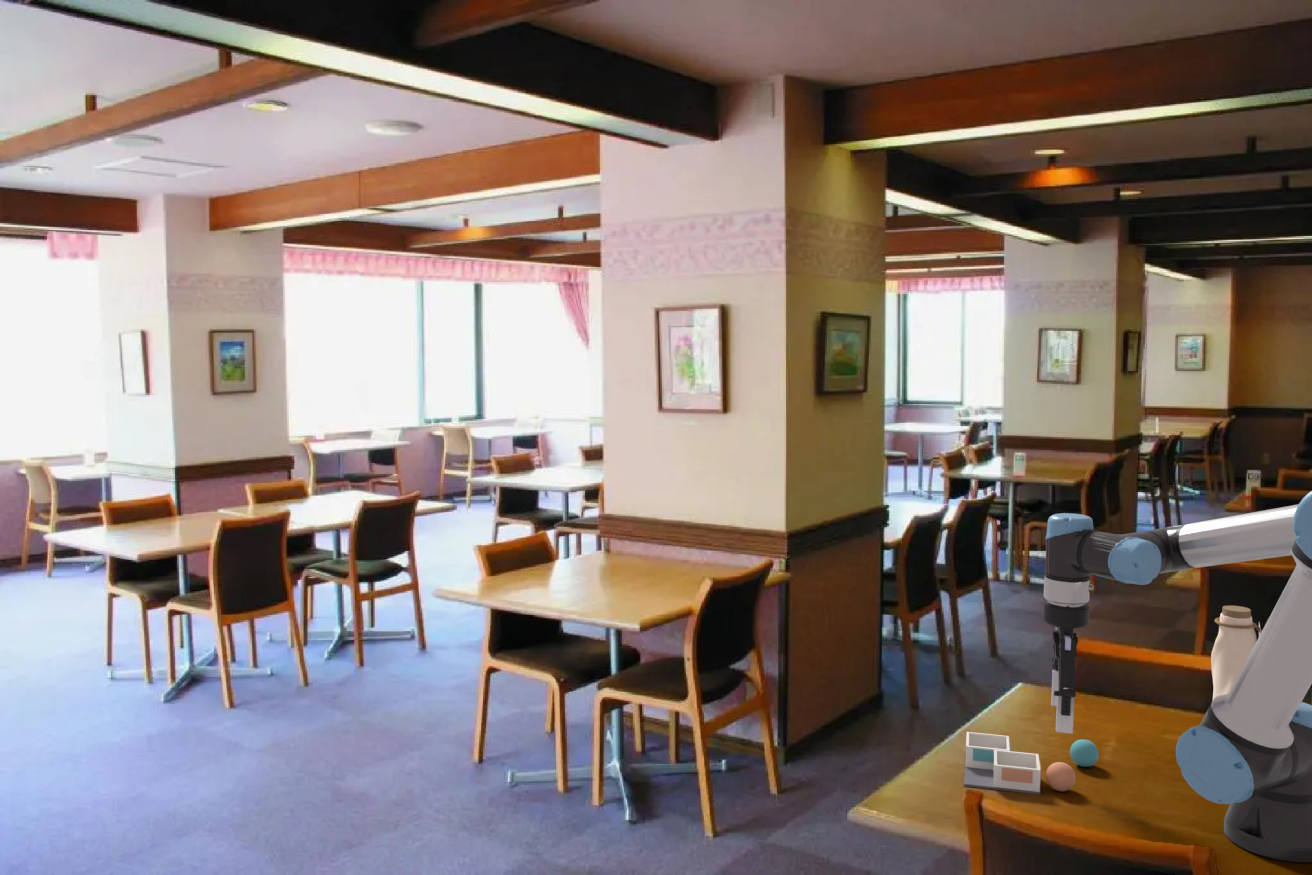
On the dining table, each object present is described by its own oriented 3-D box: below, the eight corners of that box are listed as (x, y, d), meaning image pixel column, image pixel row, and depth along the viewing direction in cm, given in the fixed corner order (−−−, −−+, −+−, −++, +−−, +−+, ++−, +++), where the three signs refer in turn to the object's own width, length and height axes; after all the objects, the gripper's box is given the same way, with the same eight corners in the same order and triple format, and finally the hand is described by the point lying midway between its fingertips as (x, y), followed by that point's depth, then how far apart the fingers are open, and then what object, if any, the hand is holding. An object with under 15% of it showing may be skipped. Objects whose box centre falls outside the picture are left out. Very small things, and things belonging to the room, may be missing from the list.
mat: (1040, 794, 192) (1040, 792, 192) (964, 785, 196) (964, 783, 196) (1036, 760, 207) (1036, 758, 207) (965, 753, 211) (965, 751, 211)
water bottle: (1250, 740, 218) (1257, 603, 215) (1271, 757, 209) (1278, 614, 206) (1197, 738, 219) (1203, 602, 216) (1215, 755, 210) (1222, 613, 207)
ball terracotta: (1076, 797, 191) (1077, 769, 190) (1046, 793, 192) (1047, 766, 192) (1074, 786, 196) (1075, 759, 195) (1044, 782, 197) (1045, 756, 197)
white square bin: (1010, 774, 201) (1010, 751, 201) (965, 769, 203) (965, 746, 203) (1009, 758, 209) (1009, 735, 208) (966, 753, 211) (966, 731, 210)
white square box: (1041, 794, 192) (1041, 770, 191) (993, 789, 194) (994, 765, 194) (1038, 777, 200) (1039, 754, 199) (993, 772, 202) (993, 749, 201)
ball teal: (1099, 772, 202) (1100, 746, 201) (1070, 769, 203) (1071, 743, 203) (1096, 762, 206) (1097, 736, 206) (1068, 759, 208) (1069, 734, 207)
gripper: (1096, 621, 178) (1090, 746, 180) (1083, 587, 202) (1078, 697, 204) (1047, 617, 180) (1042, 741, 182) (1040, 584, 204) (1036, 693, 206)
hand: (1061, 718), depth 193 cm, fingers open, 13 cm apart
